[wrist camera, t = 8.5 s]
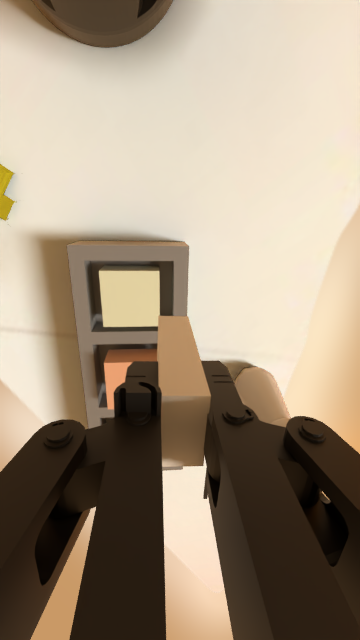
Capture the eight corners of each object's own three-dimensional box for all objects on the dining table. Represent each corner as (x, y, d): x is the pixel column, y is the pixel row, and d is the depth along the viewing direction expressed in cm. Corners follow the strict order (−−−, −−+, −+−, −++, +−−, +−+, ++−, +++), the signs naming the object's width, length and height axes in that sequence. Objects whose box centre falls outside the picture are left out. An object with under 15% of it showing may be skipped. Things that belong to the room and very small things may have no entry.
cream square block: (104, 265, 31) (98, 270, 28) (159, 265, 31) (159, 271, 28) (108, 316, 33) (103, 327, 30) (159, 316, 33) (159, 326, 30)
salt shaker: (236, 400, 42) (268, 477, 29) (225, 369, 40) (256, 437, 27) (273, 388, 41) (322, 459, 29) (265, 355, 39) (313, 418, 27)
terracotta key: (108, 349, 33) (103, 362, 30) (159, 348, 33) (160, 361, 30) (111, 392, 35) (107, 409, 32) (160, 391, 35) (160, 407, 32)
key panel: (79, 240, 32) (66, 244, 27) (184, 241, 33) (189, 246, 28) (100, 445, 42) (93, 474, 38) (179, 442, 43) (182, 469, 39)
